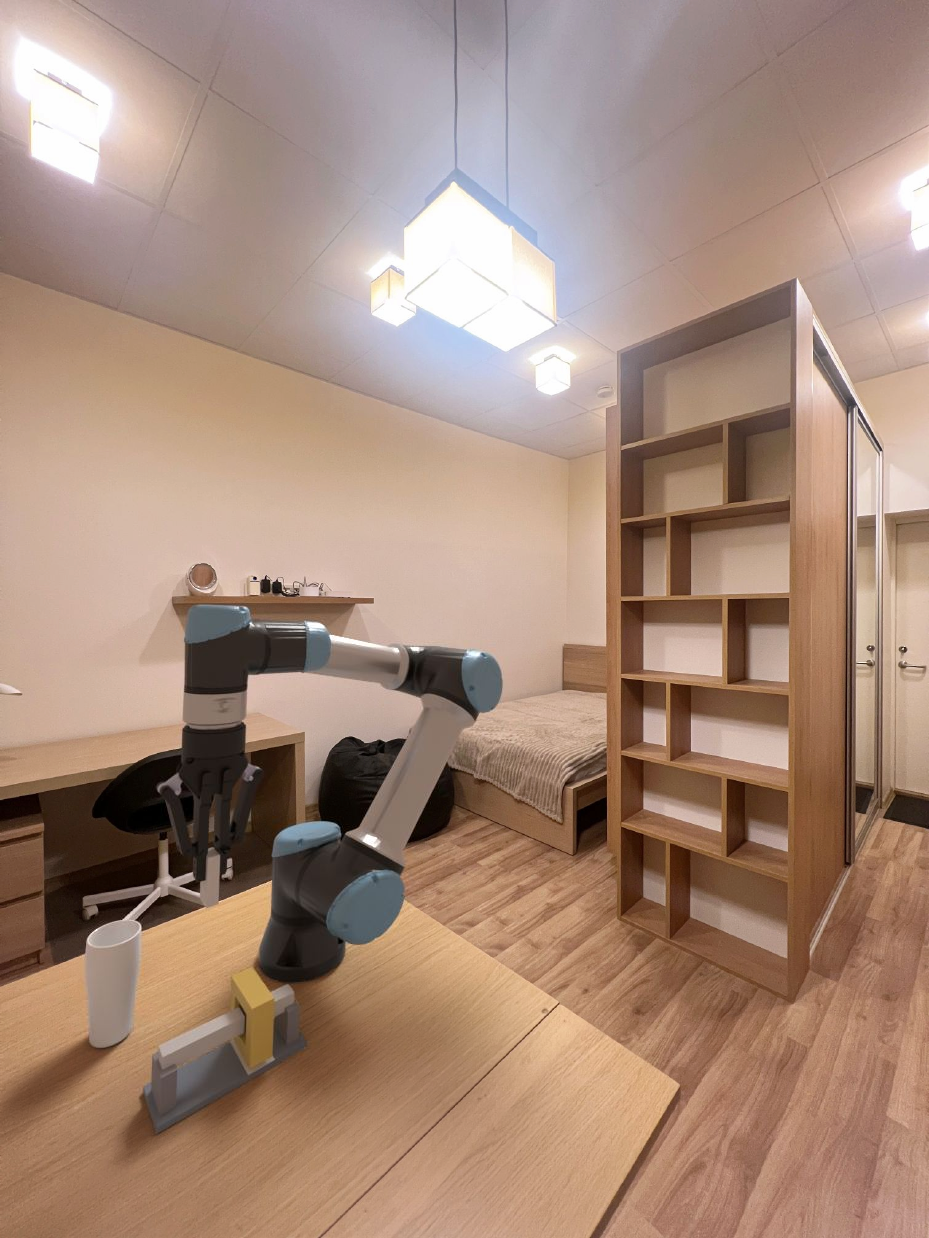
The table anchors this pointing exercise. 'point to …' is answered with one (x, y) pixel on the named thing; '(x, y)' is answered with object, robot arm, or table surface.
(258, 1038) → the collar
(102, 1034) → the white cup
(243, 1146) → the table surface
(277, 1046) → the rail
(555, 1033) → the table surface
